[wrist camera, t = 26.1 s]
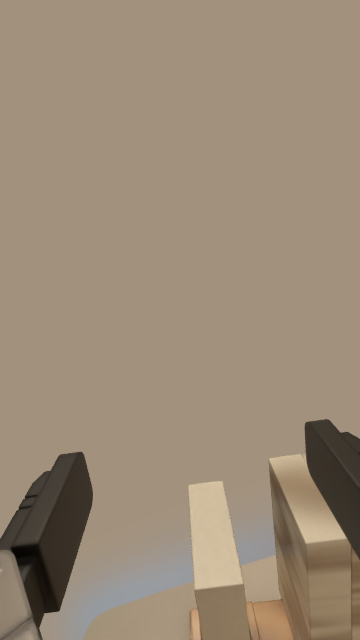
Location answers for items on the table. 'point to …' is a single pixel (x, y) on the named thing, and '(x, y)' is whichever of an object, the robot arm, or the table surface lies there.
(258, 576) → the table surface
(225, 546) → the white book
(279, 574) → the wooden book rack
